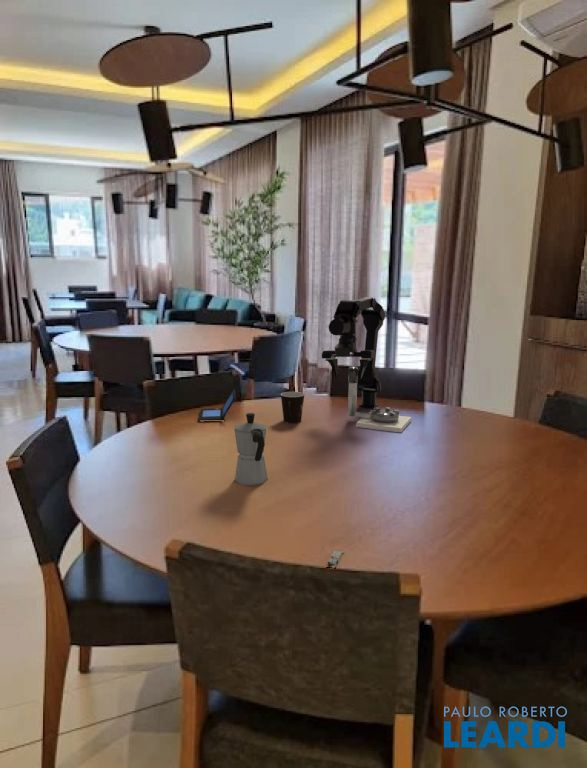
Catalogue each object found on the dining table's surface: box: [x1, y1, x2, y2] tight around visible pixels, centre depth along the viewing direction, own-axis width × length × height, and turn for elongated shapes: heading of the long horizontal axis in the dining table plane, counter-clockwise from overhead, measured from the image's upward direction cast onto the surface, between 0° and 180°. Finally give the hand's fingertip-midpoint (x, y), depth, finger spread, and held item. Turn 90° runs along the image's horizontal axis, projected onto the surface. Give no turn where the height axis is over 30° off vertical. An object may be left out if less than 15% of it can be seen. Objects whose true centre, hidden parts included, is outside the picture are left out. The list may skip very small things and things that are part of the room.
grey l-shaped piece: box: [347, 366, 400, 422], centre depth 194 cm, size 10×19×18 cm, turn 65°
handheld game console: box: [198, 388, 236, 421], centre depth 203 cm, size 16×13×9 cm
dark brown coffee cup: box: [280, 391, 305, 424], centre depth 196 cm, size 12×9×10 cm
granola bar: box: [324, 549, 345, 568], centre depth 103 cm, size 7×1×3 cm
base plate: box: [355, 412, 412, 433], centre depth 195 cm, size 16×16×2 cm
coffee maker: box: [233, 412, 269, 487], centre depth 139 cm, size 15×9×18 cm, turn 23°
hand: (348, 378), depth 196 cm, fingers open, 9 cm apart
